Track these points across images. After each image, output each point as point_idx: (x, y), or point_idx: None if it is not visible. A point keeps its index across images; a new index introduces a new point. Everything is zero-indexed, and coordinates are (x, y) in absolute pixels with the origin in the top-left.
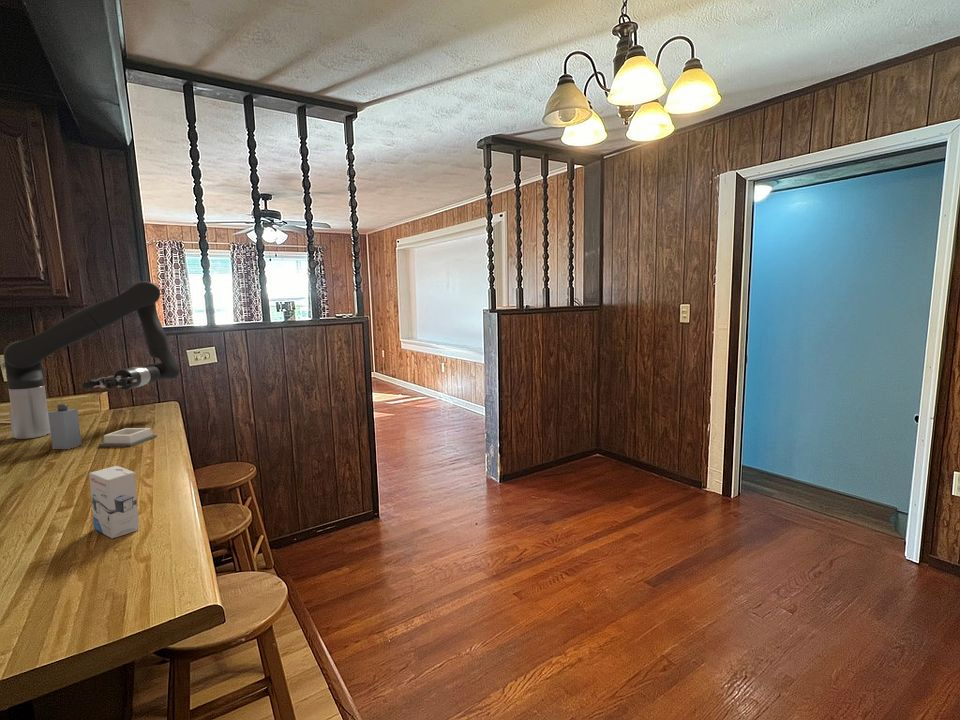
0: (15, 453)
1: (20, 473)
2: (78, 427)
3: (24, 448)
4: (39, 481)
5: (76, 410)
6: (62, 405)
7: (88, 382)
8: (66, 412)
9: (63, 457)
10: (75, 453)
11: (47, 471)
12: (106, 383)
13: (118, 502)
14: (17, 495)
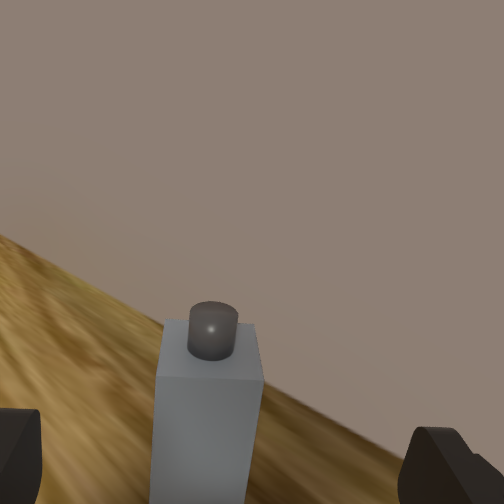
0: (338, 438)
1: (109, 312)
2: (152, 468)
3: (395, 496)
4: (15, 281)
5: (156, 378)
6: (196, 307)
7: (458, 495)
8: (163, 335)
9: (89, 399)
10: (74, 436)
11: (43, 317)
12: (16, 413)
13: None
14: (11, 249)
